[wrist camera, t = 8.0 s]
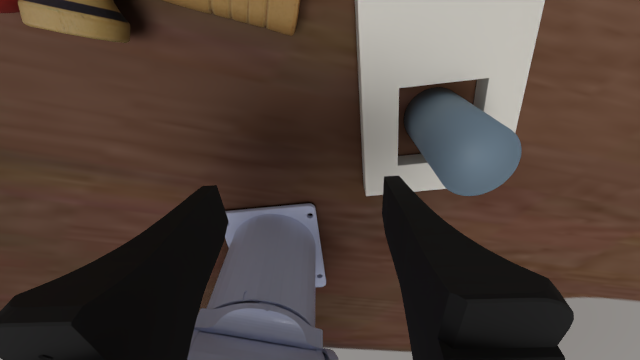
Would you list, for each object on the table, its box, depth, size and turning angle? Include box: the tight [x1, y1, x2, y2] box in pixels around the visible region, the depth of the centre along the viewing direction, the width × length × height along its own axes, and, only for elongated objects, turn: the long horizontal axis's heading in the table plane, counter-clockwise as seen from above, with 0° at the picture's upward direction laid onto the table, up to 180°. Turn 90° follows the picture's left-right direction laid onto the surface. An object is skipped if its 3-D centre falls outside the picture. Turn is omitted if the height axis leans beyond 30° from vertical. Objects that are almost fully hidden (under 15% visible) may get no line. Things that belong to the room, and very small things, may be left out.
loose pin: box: [404, 87, 521, 196], centre depth 18 cm, size 4×4×7 cm
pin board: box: [355, 0, 545, 196], centre depth 17 cm, size 22×10×2 cm, turn 6°
